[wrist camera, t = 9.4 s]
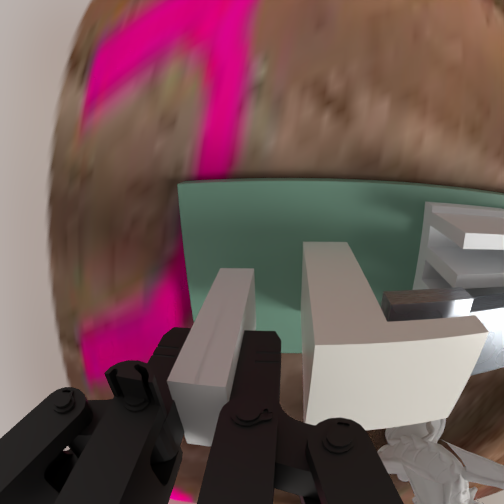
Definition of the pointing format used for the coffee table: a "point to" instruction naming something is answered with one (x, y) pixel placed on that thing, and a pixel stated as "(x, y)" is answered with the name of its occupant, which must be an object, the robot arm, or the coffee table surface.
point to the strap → (453, 315)
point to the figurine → (436, 465)
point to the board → (338, 238)
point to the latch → (375, 350)
